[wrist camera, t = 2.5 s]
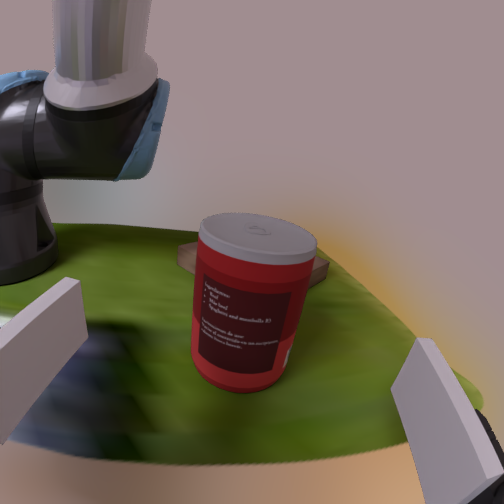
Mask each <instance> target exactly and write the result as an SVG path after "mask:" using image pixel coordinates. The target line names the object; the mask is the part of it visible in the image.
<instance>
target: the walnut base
mask: <svg viewBox="0 0 504 504" xmlns="http://www.w3.org/2000/svg"><path fill="white" fill-rule="evenodd" d="M197 246H198V242H193V243H189V244H184V245H180V246H178V257H177V264H178V265H179V266H181V267H183V268H184V269H186V270H187V271H189V272H191V273H192V274H194V275H195V267H196V254H197ZM329 263H330V262H329V261H327V260H324V259H322V258H319V257H317V256H315V260H314V264H313V269H312V273H311V277H310V281H309V285H308V289H309V288H310V287H312V286H314V285H315V284H317V283H319V282H320V281H322V280H324V279H325V278H326V275H327V271H328V267H329Z"/></svg>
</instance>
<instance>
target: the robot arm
mask: <svg viewBox="0 0 504 504" xmlns="http://www.w3.org/2000/svg"><path fill="white" fill-rule="evenodd" d="M151 1H152V0H52V4H53V5H52V8H53V9H52V11H53V39H54V53H55V63H56V66H55V68H53V70H52V71H51V72H50V73H47V72H45V71H41V70H26V71H22V72H11V73H7V74H3V75H0V285H3V284H9V283H14V282H18V281H21V280H24V279H27V278H30V277H32V276H35V275H37V274H39V273H41V272H42V271H44V270H46V269H47V268H48V267H50V266H51V265H52V264H53V263H54V262H55V260H56V259H57V257H58V242H57V236H56V233H55V230H54V228H53V225H52V222H51V219H50V217H49V214H48V211H47V209H46V205H45V202H44V199H43V179H73V180H107V181H119V180H130V179H141V178H143V177H144V176H146V175H147V174H148V173H149V171H150V170H151V168H152V165H153V161H154V157H155V154H156V150H157V146H158V142H159V137H160V132H161V126H162V123H163V119H164V116H165V111H166V106H167V102H168V97H169V91H170V84H169V82H168V81H165V80H163V79H161V78H159V79H157V74H158V68H157V64H156V62H155V61H154V59H153V58H151V56H149V55H148V54H147V53H145V52H144V51H145V42H146V34H147V27H148V20H149V13H150V7H151ZM87 338H88V332H87V326H86V320H85V314H84V307H83V300H82V292H81V284H80V281H79V280H76V279H72V278H68V277H65V278H64V279H62V280H61V281H60V282H58V283H57V284H56V285H54V286H53V287H52V288H50V289H49V290H48V291H46V292H45V293H44V294H42V295H41V296H40V297H38V298H37V299H36V300H35V301H33V302H32V303H31V304H30V305H28V306H27V307H26V308H25V309H23V310H22V311H21V312H20V313H18V314H17V315H16V316H15V317H14V318H12V319H11V320H10V321H9V322H7V323H6V324H5V325H4V326H3V327H2V328H0V444H2V445H3V444H4V442H5V441H6V440H7V438H8V437H9V435H10V434H11V433H12V431H13V430H14V429H15V427H16V426H17V425H18V423H19V422H20V421H21V419H22V418H23V417H24V415H25V414H26V413H27V411H28V410H29V409H30V407H31V406H32V405H33V403H34V402H35V401H36V400H37V398H38V397H39V396H40V395H41V393H42V392H43V391H44V390H45V388H46V387H47V386H48V385H49V383H50V382H51V381H52V380H53V378H54V377H55V376H56V375H57V373H58V372H59V371H60V370H61V369H62V367H63V366H64V365H65V364H66V363H67V361H68V360H69V359H70V358H71V357H72V355H73V354H74V353H75V352H76V351H77V350H78V348H79V347H80V346H81V345H82V344H83V343H84V341H85V340H86V339H87ZM391 392H392V395H393V398H394V400H395V403H396V406H397V409H398V412H399V415H400V418H401V421H402V424H403V427H404V430H405V433H406V436H407V439H408V442H409V446H410V449H411V452H412V455H413V459H414V462H415V466H416V469H417V473H418V476H419V480H420V483H421V487H422V491H423V494H424V499H425V503H426V504H504V452H503V451H502V448H501V446H500V444H499V442H498V440H496V437H495V434H494V432H493V431H491V430H492V428H491V427H490V425H489V423H488V421H487V419H486V418H485V417H484V416H483V415H482V414H481V413H480V412H479V411H478V410H477V409H474V408H473V407H472V405H471V403H470V401H469V399H468V397H467V396H466V394H465V392H464V390H463V389H462V387H461V385H460V383H459V382H458V380H457V378H456V377H455V375H454V373H453V372H452V370H451V368H450V367H449V365H448V364H447V362H446V360H445V359H444V357H443V355H442V354H441V352H440V351H439V349H438V347H437V346H436V344H435V343H434V341H433V340H432V339H430V338H416V340H415V342H414V344H413V346H412V348H411V351H410V353H409V355H408V357H407V359H406V361H405V363H404V365H403V366H402V368H401V370H400V372H399V374H398V376H397V378H396V380H395V382H394V383H393V385H392V387H391Z"/></svg>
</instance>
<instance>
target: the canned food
mask: <svg viewBox="0 0 504 504" xmlns="http://www.w3.org/2000/svg"><path fill="white" fill-rule="evenodd" d="M316 247H317V240H316V238H315V237H314V236H313V235H312V234H311V233H309V232H308V231H306V230H305V229H303V228H301V227H300V226H297V225H295V224H293V223H290V222H287V221H284V220H281V219H277V218H273V217H269V216H264V215H258V214H249V213H222V214H217V215H213V216H210V217H207V218H206V219H204V220H203V221H202V222H201V225H200V230H199V235H198V246H197V254H196V267H195V281H194V297H193V315H192V336H191V354H192V359H193V361H194V364H195V366H196V368H197V370H198V372H199V373H200V374H201V376H202V377H203V378H204V379H206V380H207V381H208V382H209V383H211V384H213V385H214V386H216V387H218V388H221V389H224V390H226V391H231V392H236V393H251V392H257V391H260V390H263V389H266V388H267V387H269V386H271V385H272V384H273V383H275V382H276V381H277V380H278V378H279V377H280V376H281V375H282V373H283V371H284V370H285V367H286V364H287V361H288V357H289V354H290V351H291V347H292V344H293V340H294V337H295V333H296V330H297V326H298V323H299V319H300V315H301V312H302V308H303V304H304V301H305V297H306V293H307V289H308V285H309V281H310V277H311V273H312V269H313V264H314V260H315V255H316Z"/></svg>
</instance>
